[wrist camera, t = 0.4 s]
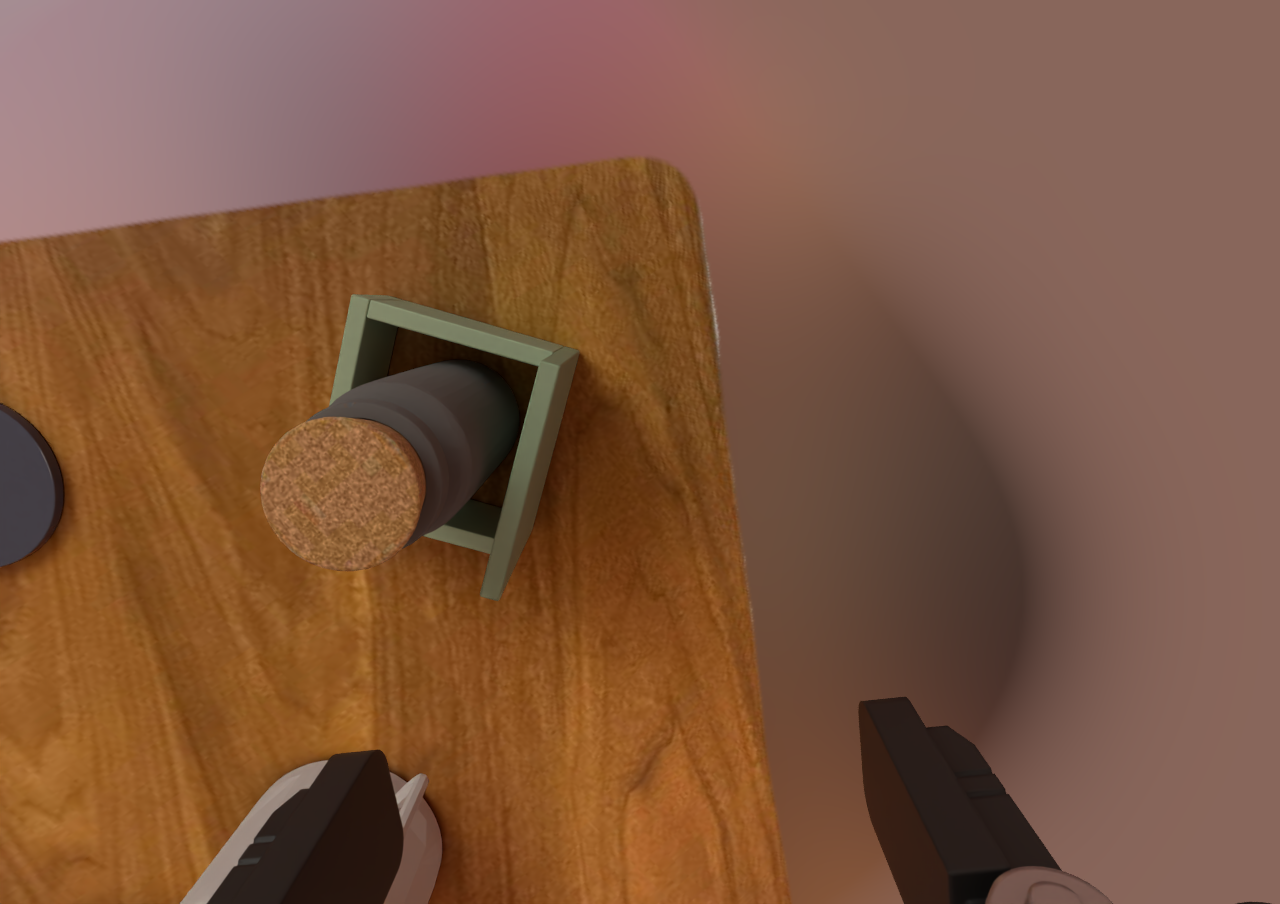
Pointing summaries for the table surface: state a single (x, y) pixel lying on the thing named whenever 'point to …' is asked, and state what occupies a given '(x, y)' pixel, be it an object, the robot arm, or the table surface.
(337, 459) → the bottle
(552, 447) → the holder
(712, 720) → the table surface
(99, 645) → the table surface
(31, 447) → the coaster
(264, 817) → the mug
